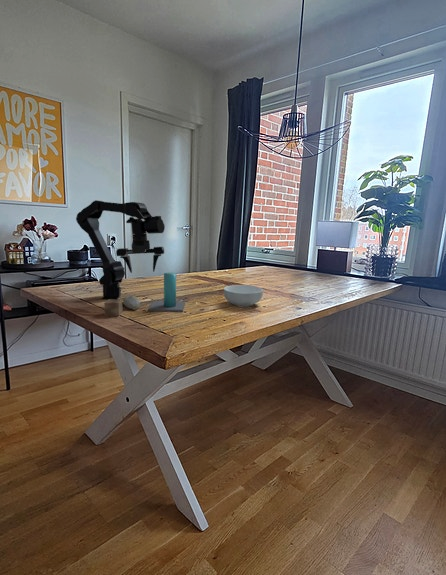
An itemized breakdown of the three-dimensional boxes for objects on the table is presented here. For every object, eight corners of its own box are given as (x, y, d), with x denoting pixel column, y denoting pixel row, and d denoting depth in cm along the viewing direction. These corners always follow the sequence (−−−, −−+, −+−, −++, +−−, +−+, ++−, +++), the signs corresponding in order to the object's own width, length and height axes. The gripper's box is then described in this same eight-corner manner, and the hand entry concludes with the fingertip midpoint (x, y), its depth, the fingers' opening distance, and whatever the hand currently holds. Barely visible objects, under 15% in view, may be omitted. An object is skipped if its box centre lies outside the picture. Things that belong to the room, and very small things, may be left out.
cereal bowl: (227, 298, 151) (228, 283, 150) (263, 301, 148) (264, 286, 147) (219, 307, 135) (220, 290, 134) (259, 311, 132) (261, 294, 131)
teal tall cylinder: (165, 307, 128) (165, 274, 126) (162, 304, 132) (162, 272, 130) (177, 306, 130) (178, 274, 128) (173, 303, 134) (174, 272, 132)
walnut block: (104, 316, 117) (104, 302, 116) (108, 312, 122) (108, 299, 121) (119, 316, 117) (118, 303, 116) (122, 312, 122) (122, 299, 121)
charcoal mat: (148, 310, 126) (148, 308, 126) (154, 302, 138) (154, 300, 138) (182, 311, 126) (182, 309, 126) (185, 303, 139) (185, 301, 139)
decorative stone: (127, 312, 124) (127, 303, 123) (120, 302, 137) (120, 294, 137) (144, 310, 127) (143, 302, 126) (135, 301, 140) (135, 293, 139)
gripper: (111, 235, 125) (115, 276, 128) (161, 233, 127) (164, 273, 130) (117, 235, 136) (120, 272, 139) (163, 233, 138) (165, 270, 141)
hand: (142, 272), depth 137 cm, fingers open, 9 cm apart
